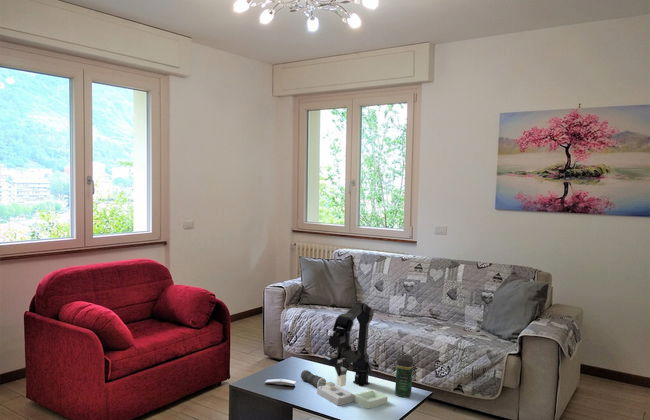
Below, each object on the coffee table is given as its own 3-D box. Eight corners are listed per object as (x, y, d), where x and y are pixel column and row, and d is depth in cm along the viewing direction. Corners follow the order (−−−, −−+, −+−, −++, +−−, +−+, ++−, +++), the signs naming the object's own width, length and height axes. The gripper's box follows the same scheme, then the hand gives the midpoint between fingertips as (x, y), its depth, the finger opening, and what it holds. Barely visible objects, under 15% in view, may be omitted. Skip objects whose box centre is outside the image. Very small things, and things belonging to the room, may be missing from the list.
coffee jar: (410, 398, 244) (412, 360, 243) (393, 396, 246) (395, 358, 246) (412, 391, 253) (414, 355, 252) (396, 389, 255) (398, 352, 255)
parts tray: (372, 395, 245) (373, 389, 245) (387, 403, 237) (387, 396, 237) (354, 400, 238) (354, 394, 238) (368, 408, 230) (368, 402, 230)
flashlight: (299, 380, 261) (299, 370, 261) (307, 378, 264) (308, 368, 264) (317, 390, 249) (317, 379, 249) (326, 388, 252) (326, 377, 252)
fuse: (330, 392, 246) (331, 381, 246) (334, 394, 244) (335, 383, 244) (325, 394, 245) (326, 382, 244) (329, 396, 242) (330, 384, 242)
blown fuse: (341, 383, 240) (342, 366, 240) (345, 385, 237) (346, 368, 237) (336, 384, 238) (337, 367, 238) (340, 386, 235) (341, 369, 235)
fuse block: (333, 389, 251) (333, 382, 250) (354, 400, 238) (354, 393, 238) (316, 393, 244) (317, 386, 244) (337, 405, 232) (337, 398, 232)
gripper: (338, 350, 225) (336, 384, 225) (369, 344, 236) (367, 377, 237) (323, 343, 234) (321, 376, 234) (354, 338, 245) (352, 370, 246)
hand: (341, 375), depth 238 cm, fingers closed on blown fuse, 3 cm apart
